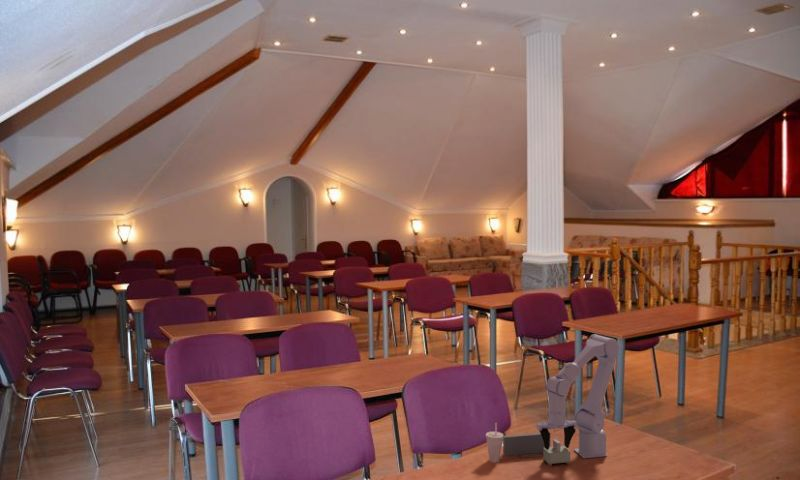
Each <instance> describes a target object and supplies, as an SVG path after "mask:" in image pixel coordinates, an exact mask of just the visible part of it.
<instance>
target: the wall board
mask: <svg viewBox="0 0 800 480" xmlns="http://www.w3.org/2000/svg"><path fill="white" fill-rule="evenodd" d="M502 444H503V445H502V447H503V448H502V455H503V456H504V457H507V456H508V457H509V456H518V455H519V456H520V458H522V459H525V457H526V458H534V457H540V453H543V448H545V446H544V441H543V438H542V436H541V433H540V432H534V433H523V434H521V433H520V434H513V435H503V439H502ZM549 447H551V437H550V438H549Z"/></svg>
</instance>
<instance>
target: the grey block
mask: <svg viewBox="0 0 800 480" xmlns="http://www.w3.org/2000/svg"><path fill="white" fill-rule="evenodd" d="M542 454H543V457H542V459H543V460H542V461H543V463H547V466H548V467H549V468H551V467H552V466H553V465H554V464H563V463H565V465H566V466H567V465H568V466H569V465H570V462H571V450H570V449H569V448H567V447H565V445H561V442H560V441H559V440H558V439H556V438H555V439H553V440H552V446H550V447H549V450H547V449H546V448H543V452H542Z"/></svg>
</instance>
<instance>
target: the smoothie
mask: <svg viewBox="0 0 800 480" xmlns="http://www.w3.org/2000/svg"><path fill="white" fill-rule="evenodd" d="M494 424H495V425H494V427H495V428H494V431H487V432H486V433H485V438H486V445H487V453H488V460H489V462H491V463H495V464H496V463H499V462H500V461H501V460H500V459H501V452H502V446H503V445H502V444H503V436H504V434H503V433H502V432H500V431H498V423H497V422H495V423H494Z"/></svg>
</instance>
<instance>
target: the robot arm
mask: <svg viewBox="0 0 800 480" xmlns="http://www.w3.org/2000/svg"><path fill="white" fill-rule="evenodd" d="M619 351H620V346H619V343H618V341H617V340H616V339H615V338H611V337H607V336H603V335H600V334H596V333H594V334H591V335H590V336H589V338H588V339H587V340H586V342H585V347H584V348H583V349H582V350H581V351H580V353H579V354H578V356H576V358H575V359H574V361H573V362H567V363H566V364H564V367H563V368H561V369H560V370H559V372H557V374H556V375H555V376H551V377H549V378H548V379H547V381H546V383H545V389H546V391H547V396H548V399H549V400H548V420H547V421H542V422H539V423H536V429H537V430H538V431H539V433H541V436H542V438H543V441H544V446H545V448H546V449H547V450H549V438H550V439H551V435H552V434H551V432H549V431H550V430H551V429H552V430H555V429H560V430H561V429H563V433H564V441H563V446H565V447H566V448H567V449H569V447H570V443H571V441H572V439H573V437H574V434H575V433H576V429H578V448H574V449H573V451H575V452H576V454H578V455H580V457H581V458H583V459H589V458H590V459H591V458H600V457H601V458H602V457H608V455H607V435H606V433H605V431H604V430H603V428H604V426H605V416H606V413H605V411H604V410H603V409H602V405H603V401H604V398H605V395H606V391H607V389H608V386H609V383H610V379H611V378H612V377H611V376H612V373H613V370H614V367H615V363H616V358H617V356H618V353H619ZM594 357H596V358H597V360H598V365H597V367H596V371H595V374H594V377H593V380H592V383H591V386H590V389H589V392H588V396H587V399H586V402H583V403H582V404H580V405H579V408H578V410H577V411H576V412H575V414H574V419H573V420H568V419H566V409H567V408H566V402H567V401H566V400H567V398H566V397H567V396H566V395H567V394H568V393H569V392H570V388H571V386H572V383H573V382H575V380H577V378H578V377H579V376H580V375H581V369H582V368H584V366H585V365H586V364H588V362H589V361H591V360H592V359H593V358H594Z"/></svg>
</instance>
